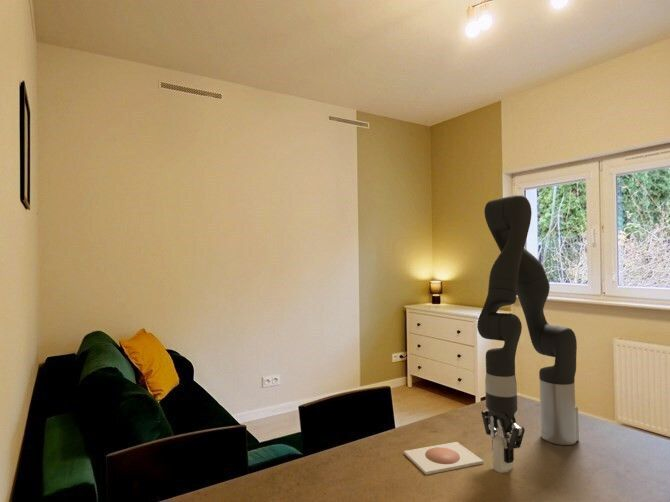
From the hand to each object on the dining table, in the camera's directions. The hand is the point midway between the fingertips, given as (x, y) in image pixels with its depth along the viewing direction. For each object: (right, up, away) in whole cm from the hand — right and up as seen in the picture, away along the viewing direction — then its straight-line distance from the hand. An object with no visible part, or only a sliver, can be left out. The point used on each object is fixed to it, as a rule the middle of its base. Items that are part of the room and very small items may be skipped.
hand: (502, 457), depth 106 cm
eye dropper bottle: (0, -3, 0) cm, 3 cm away
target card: (-14, -3, +6) cm, 15 cm away
